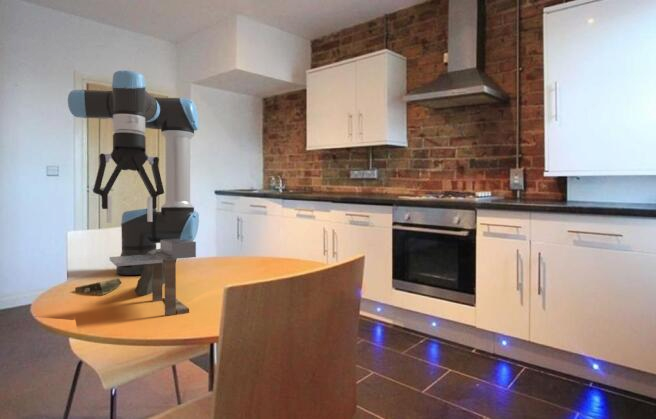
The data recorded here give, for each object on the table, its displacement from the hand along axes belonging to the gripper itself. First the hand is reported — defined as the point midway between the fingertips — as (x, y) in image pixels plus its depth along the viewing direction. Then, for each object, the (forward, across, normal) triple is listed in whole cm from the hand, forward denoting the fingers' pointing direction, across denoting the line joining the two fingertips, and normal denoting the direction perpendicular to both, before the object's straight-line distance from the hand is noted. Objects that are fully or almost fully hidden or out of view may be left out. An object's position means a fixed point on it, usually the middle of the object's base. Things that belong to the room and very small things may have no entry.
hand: (130, 221), depth 103 cm
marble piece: (+24, +8, +18) cm, 31 cm away
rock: (+25, -9, +30) cm, 40 cm away
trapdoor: (+9, +8, 0) cm, 12 cm away
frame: (+23, +8, 0) cm, 25 cm away
